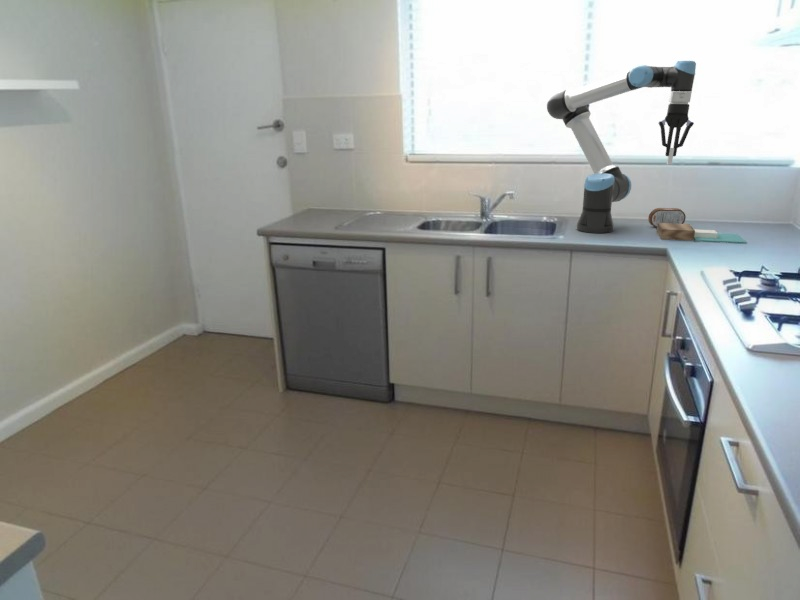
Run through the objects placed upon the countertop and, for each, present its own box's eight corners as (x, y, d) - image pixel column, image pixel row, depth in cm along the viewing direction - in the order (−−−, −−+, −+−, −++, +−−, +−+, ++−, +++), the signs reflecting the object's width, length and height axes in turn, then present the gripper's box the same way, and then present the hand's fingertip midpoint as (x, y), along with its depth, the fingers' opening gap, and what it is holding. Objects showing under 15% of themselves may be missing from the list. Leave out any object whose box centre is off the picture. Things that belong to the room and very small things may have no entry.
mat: (695, 241, 226) (695, 239, 225) (688, 233, 240) (688, 231, 240) (746, 243, 220) (747, 242, 220) (736, 235, 235) (737, 233, 235)
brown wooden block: (660, 239, 230) (662, 229, 229) (656, 232, 243) (657, 222, 241) (693, 240, 227) (695, 230, 225) (687, 233, 239) (689, 224, 238)
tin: (682, 226, 253) (685, 207, 250) (685, 228, 250) (687, 209, 247) (647, 226, 254) (649, 207, 252) (649, 228, 251) (651, 208, 249)
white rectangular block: (692, 237, 230) (693, 232, 229) (689, 234, 235) (690, 229, 235) (717, 238, 227) (718, 233, 227) (714, 235, 233) (715, 230, 232)
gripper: (662, 103, 224) (652, 164, 232) (699, 103, 220) (688, 166, 228) (660, 102, 230) (650, 162, 238) (695, 103, 227) (685, 164, 235)
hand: (669, 164), depth 233 cm, fingers closed
